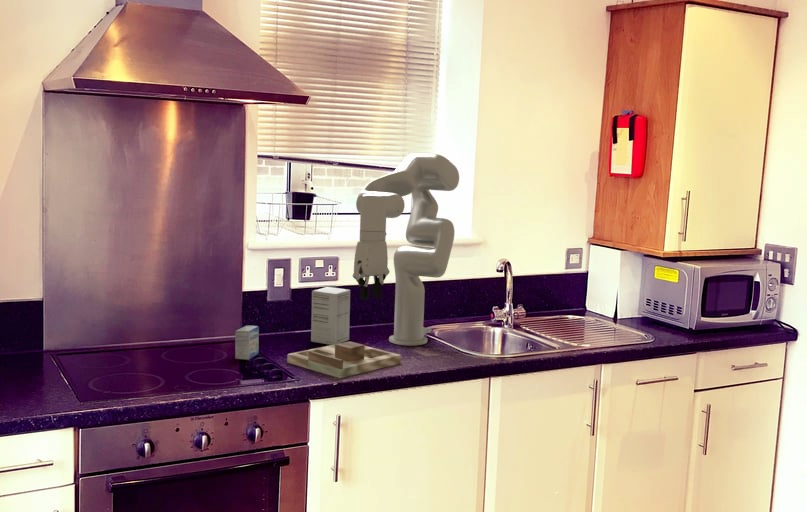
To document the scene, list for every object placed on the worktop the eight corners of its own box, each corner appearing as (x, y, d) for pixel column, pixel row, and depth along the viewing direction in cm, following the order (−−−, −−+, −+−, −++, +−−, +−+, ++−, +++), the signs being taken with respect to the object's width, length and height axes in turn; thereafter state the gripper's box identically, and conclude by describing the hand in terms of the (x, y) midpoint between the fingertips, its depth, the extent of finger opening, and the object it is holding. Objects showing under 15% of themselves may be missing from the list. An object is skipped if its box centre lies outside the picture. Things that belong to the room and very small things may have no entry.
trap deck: (348, 349, 276) (348, 333, 275) (400, 363, 261) (401, 346, 261) (287, 362, 257) (287, 345, 257) (340, 378, 243) (340, 360, 242)
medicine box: (249, 360, 258) (249, 331, 257) (234, 359, 259) (235, 330, 258) (258, 354, 266) (259, 326, 265) (244, 352, 267) (245, 324, 266)
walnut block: (349, 354, 259) (349, 341, 259) (364, 358, 255) (364, 345, 255) (334, 357, 255) (335, 344, 254) (349, 362, 251) (349, 348, 250)
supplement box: (325, 336, 293) (327, 286, 290) (349, 340, 288) (351, 289, 286) (309, 341, 284) (311, 290, 282) (334, 345, 280) (335, 293, 278)
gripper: (383, 233, 265) (381, 293, 267) (342, 237, 252) (340, 299, 255) (401, 236, 260) (399, 297, 262) (361, 239, 247) (359, 303, 250)
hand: (370, 297), depth 259 cm, fingers open, 4 cm apart
